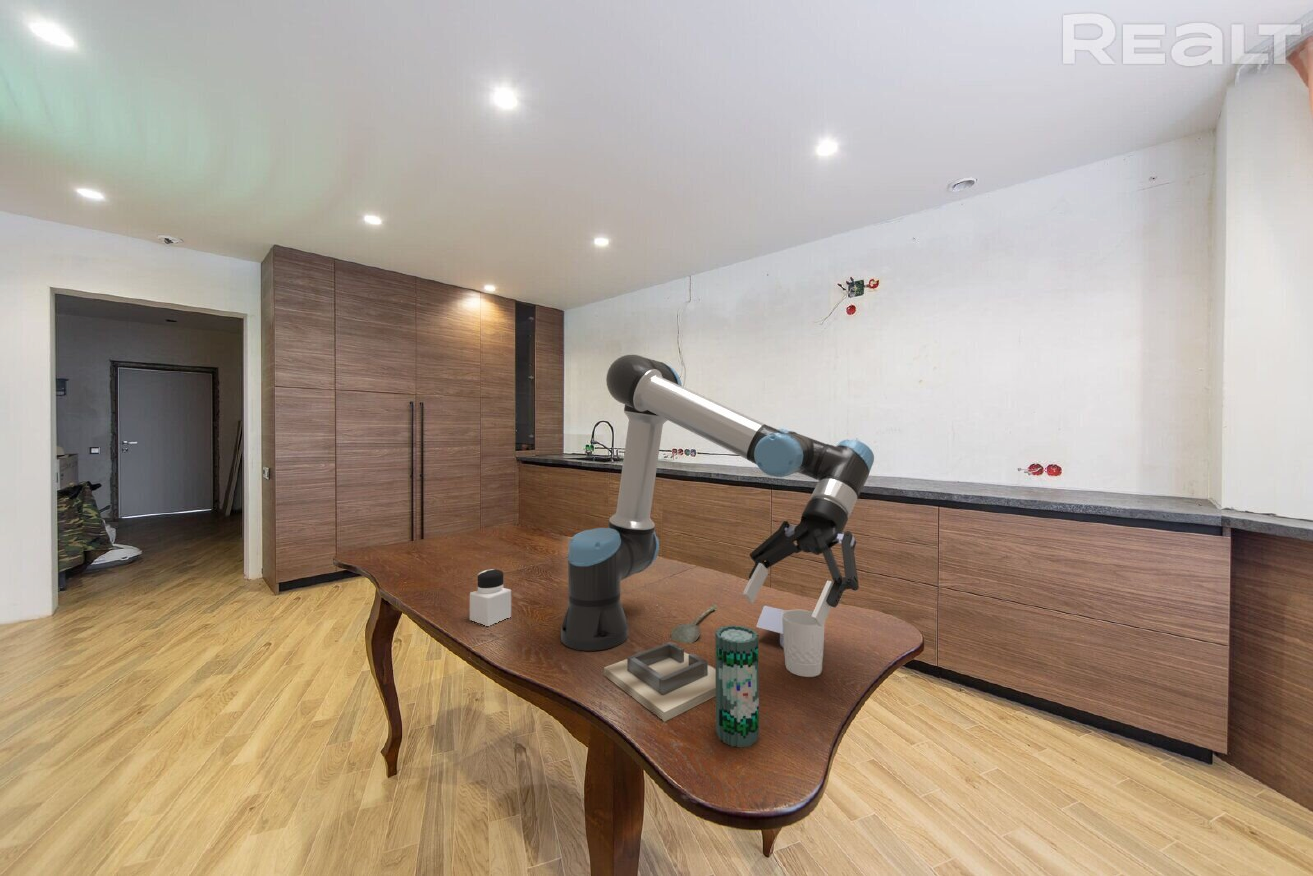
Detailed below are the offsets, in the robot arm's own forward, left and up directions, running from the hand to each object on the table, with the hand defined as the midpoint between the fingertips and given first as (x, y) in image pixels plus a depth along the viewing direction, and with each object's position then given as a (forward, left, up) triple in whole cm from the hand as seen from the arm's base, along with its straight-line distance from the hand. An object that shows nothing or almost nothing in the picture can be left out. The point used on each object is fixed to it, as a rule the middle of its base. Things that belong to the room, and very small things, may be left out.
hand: (779, 609), depth 74 cm
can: (-5, -9, -16) cm, 19 cm away
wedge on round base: (0, +26, -17) cm, 31 cm away
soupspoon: (-22, +28, -17) cm, 39 cm away
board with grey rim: (-20, +1, -16) cm, 26 cm away
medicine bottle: (-71, +12, -17) cm, 74 cm away
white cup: (+3, +15, -17) cm, 23 cm away
